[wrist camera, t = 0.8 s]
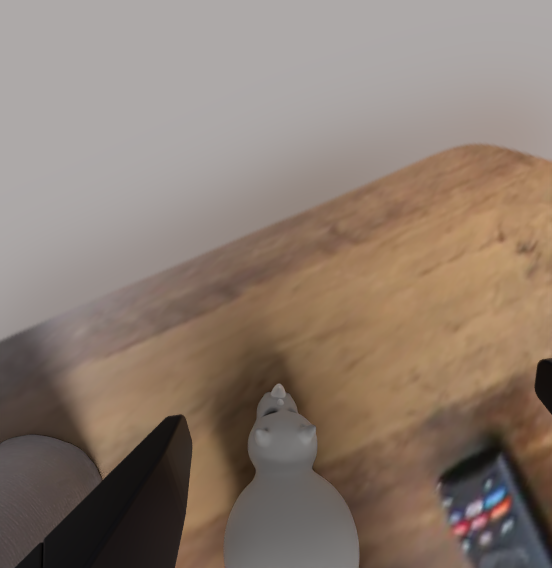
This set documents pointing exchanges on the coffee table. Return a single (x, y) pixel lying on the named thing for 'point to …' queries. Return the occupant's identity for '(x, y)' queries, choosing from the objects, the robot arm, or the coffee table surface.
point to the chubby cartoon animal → (288, 499)
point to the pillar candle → (38, 490)
